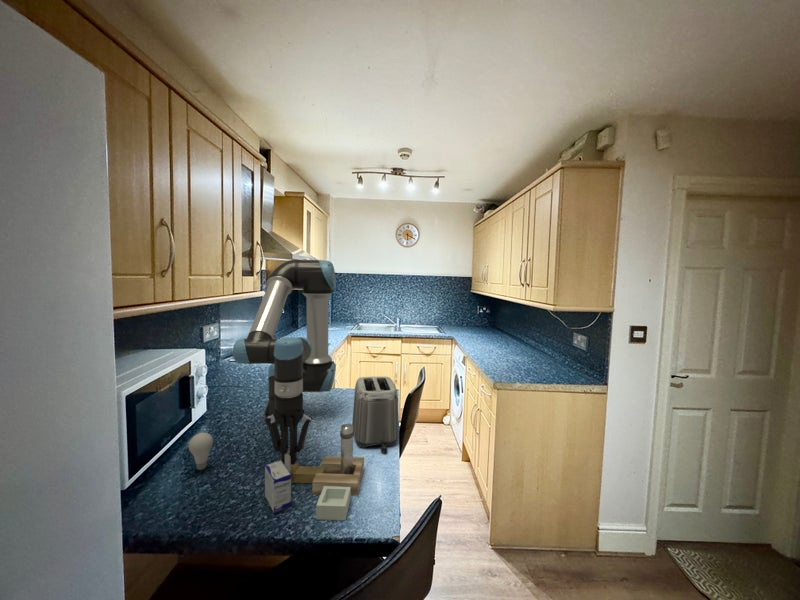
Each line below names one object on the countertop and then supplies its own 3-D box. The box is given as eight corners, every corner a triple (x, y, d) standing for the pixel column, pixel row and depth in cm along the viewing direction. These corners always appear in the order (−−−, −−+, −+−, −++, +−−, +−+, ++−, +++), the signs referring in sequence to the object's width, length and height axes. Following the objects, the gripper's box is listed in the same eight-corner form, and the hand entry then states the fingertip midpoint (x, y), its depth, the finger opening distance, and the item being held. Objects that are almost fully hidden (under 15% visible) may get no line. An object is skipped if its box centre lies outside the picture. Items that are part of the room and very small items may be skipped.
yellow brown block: (321, 484, 87) (321, 473, 87) (288, 483, 87) (288, 472, 87) (325, 474, 92) (325, 463, 91) (294, 473, 92) (294, 462, 92)
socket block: (357, 495, 83) (357, 483, 83) (312, 494, 83) (312, 481, 83) (363, 468, 95) (363, 457, 95) (324, 467, 95) (324, 456, 95)
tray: (316, 519, 75) (316, 505, 74) (324, 498, 82) (324, 486, 81) (345, 520, 75) (345, 506, 74) (350, 499, 82) (350, 486, 81)
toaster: (391, 415, 133) (392, 371, 131) (403, 454, 104) (405, 397, 102) (351, 417, 130) (352, 372, 129) (352, 457, 101) (353, 400, 100)
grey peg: (338, 485, 87) (338, 429, 86) (341, 476, 91) (341, 423, 90) (352, 485, 87) (352, 430, 86) (354, 477, 91) (354, 423, 90)
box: (292, 506, 79) (291, 473, 78) (273, 514, 76) (273, 480, 76) (281, 489, 85) (281, 459, 84) (264, 496, 82) (264, 465, 82)
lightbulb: (187, 478, 89) (186, 440, 88) (191, 466, 95) (190, 430, 94) (211, 473, 92) (211, 436, 91) (214, 461, 97) (214, 427, 96)
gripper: (259, 397, 84) (260, 481, 86) (307, 399, 84) (307, 483, 85) (271, 388, 92) (272, 465, 93) (315, 389, 91) (315, 467, 93)
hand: (289, 474), depth 89 cm, fingers closed
